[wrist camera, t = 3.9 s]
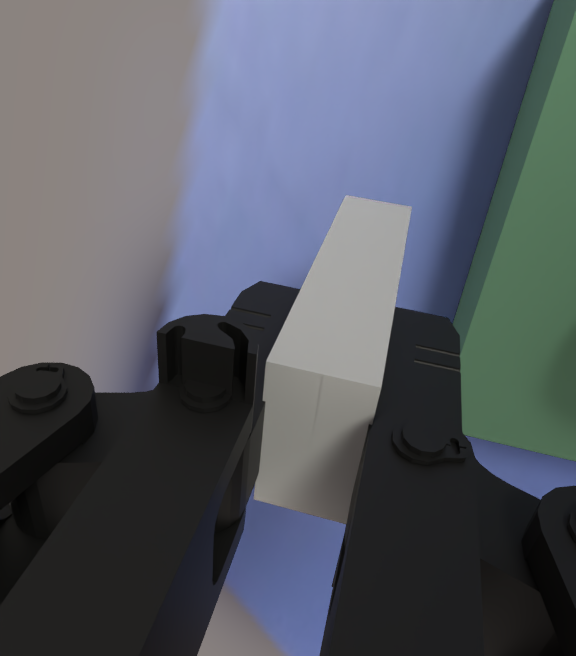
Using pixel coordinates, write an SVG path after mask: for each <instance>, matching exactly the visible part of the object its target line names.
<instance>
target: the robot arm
mask: <svg viewBox="0 0 576 656" xmlns="http://www.w3.org/2000/svg"><path fill="white" fill-rule="evenodd" d="M411 209H412V207H410V206H405V205H399V204H393V203H388V202H382V201H376V200H371V199H365V198H359V197H354V196H348V195H346V196H345V198H344V200H343V202H342V204H341V206H340V208H339V210H338V212H337V214H336V217H335V219H334V221H333V223H332V225H331V227H330V229H329V231H328V233H327V235H326V237H325V239H324V242H323V244H322V246H321V248H320V250H319V252H318V254H317V256H316V258H315V260H314V262H313V264H312V267H311V269H310V271H309V273H308V275H307V277H306V279H305V281H304V283H303V285H302V287H301V289H296V288H291V287H286V286H282V285H277V284H272V283H267V282H262V281H260V282H258V283H256V284H254V285H252V286H251V287H249V288H247V289H245V290H243V291H242V292H241V293H240V295H239V296H238V298H237V299H236V301H235V302H234V304H233V305H232V307H231V310H229V311H228V313H227V314H226V316H218V315H208V314H201V315H192V316H185V317H182V318H179V319H177V320H174V321H171V322H169V323H167V324H166V325H165V326H163V327H162V328H161V329H160V330H158V331H157V349H158V369H159V383H158V385H157V386H156V387H155V389H154V390H151V391H147V392H135V393H95V391H94V386H93V383H92V381H91V378H90V376H89V375H88V374H86V373H85V372H84V371H82V370H81V369H80V368H78V367H75V366H71V365H68V364H64V363H38V364H33V365H29V366H24V367H21V368H18V369H16V370H14V371H12V372H9V373H7V374H5V375H3V376H1V377H0V656H197V654H198V651H199V648H200V646H201V643H202V641H203V638H204V635H205V632H206V630H207V627H208V624H209V622H210V619H211V616H212V614H213V611H214V608H215V605H216V603H217V600H218V597H219V594H220V592H221V589H222V587H223V584H224V581H225V579H226V576H227V573H228V570H229V568H230V565H231V562H232V560H233V557H234V554H235V552H236V549H237V546H238V543H239V541H240V538H241V535H242V533H243V530H244V522H245V513H246V505H247V502H248V500H249V497H250V494H251V492H252V489H253V487H254V484H255V491H254V500H258V501H262V502H265V503H269V504H273V505H276V506H280V507H284V508H288V509H291V510H295V511H299V512H302V513H306V514H310V515H313V516H317V517H321V518H325V519H328V520H332V521H336V522H339V523H343V524H346V529H345V534H344V538H343V542H342V546H341V550H340V554H339V559H338V563H337V567H336V571H335V575H334V579H333V583H332V587H333V590H332V595H331V600H330V605H329V610H328V615H327V620H326V625H325V630H324V636H323V641H322V646H321V651H320V656H576V486H568V487H558V488H555V489H553V490H552V491H550V492H549V493H547V494H546V495H544V496H543V497H542V499H541V500H540V499H538V498H536V497H534V496H532V495H530V494H528V493H526V492H524V491H522V490H520V489H518V488H516V487H514V486H512V485H510V484H508V483H506V482H505V481H503V480H501V479H500V478H498V477H496V476H495V475H493V474H492V473H490V472H489V471H488V470H487V469H486V468H484V467H483V466H482V465H481V464H480V463H479V462H478V461H477V460H476V458H475V456H474V452H473V449H472V446H471V443H470V442H469V440H468V439H467V438H466V437H465V436H464V434H463V432H462V402H461V373H460V369H461V361H460V335H459V334H458V332H457V331H456V329H455V328H454V326H453V325H452V323H451V322H450V320H449V319H448V318H447V317H442V316H437V315H432V314H427V313H422V312H417V311H413V310H408V309H403V308H398V307H395V304H396V298H397V292H398V286H399V280H400V274H401V268H402V263H403V257H404V251H405V245H406V239H407V233H408V227H409V221H410V215H411Z"/></svg>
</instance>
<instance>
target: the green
mask: <svg viewBox="0 0 576 656" xmlns="http://www.w3.org/2000/svg"><path fill="white" fill-rule="evenodd" d="M452 325H453V326H454V328H455V329H456V331H457V332H458V334H459V335H460V361H461V369H460V373H461V402H462V432H463V434H464V435H466V436H470V437H475V438H479V439H483V440H487V441H492V442H496V443H500V444H504V445H508V446H513V447H517V448H521V449H525V450H529V451H534V452H538V453H542V454H546V455H551V456H555V457H559V458H563V459H567V460H572V461H576V0H554V1H553V4H552V8H551V11H550V14H549V17H548V20H547V24H546V27H545V30H544V33H543V36H542V40H541V43H540V46H539V49H538V52H537V56H536V59H535V62H534V65H533V68H532V72H531V75H530V78H529V81H528V84H527V88H526V91H525V94H524V97H523V100H522V104H521V107H520V110H519V113H518V116H517V120H516V123H515V126H514V129H513V132H512V136H511V139H510V142H509V145H508V148H507V152H506V155H505V158H504V161H503V164H502V167H501V171H500V174H499V177H498V180H497V183H496V187H495V190H494V193H493V196H492V199H491V203H490V206H489V209H488V212H487V215H486V219H485V222H484V225H483V228H482V231H481V235H480V238H479V241H478V244H477V247H476V251H475V254H474V257H473V260H472V263H471V267H470V270H469V273H468V276H467V279H466V283H465V286H464V289H463V292H462V295H461V299H460V302H459V305H458V308H457V311H456V315H455V318H454V321H453V324H452Z"/></svg>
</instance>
